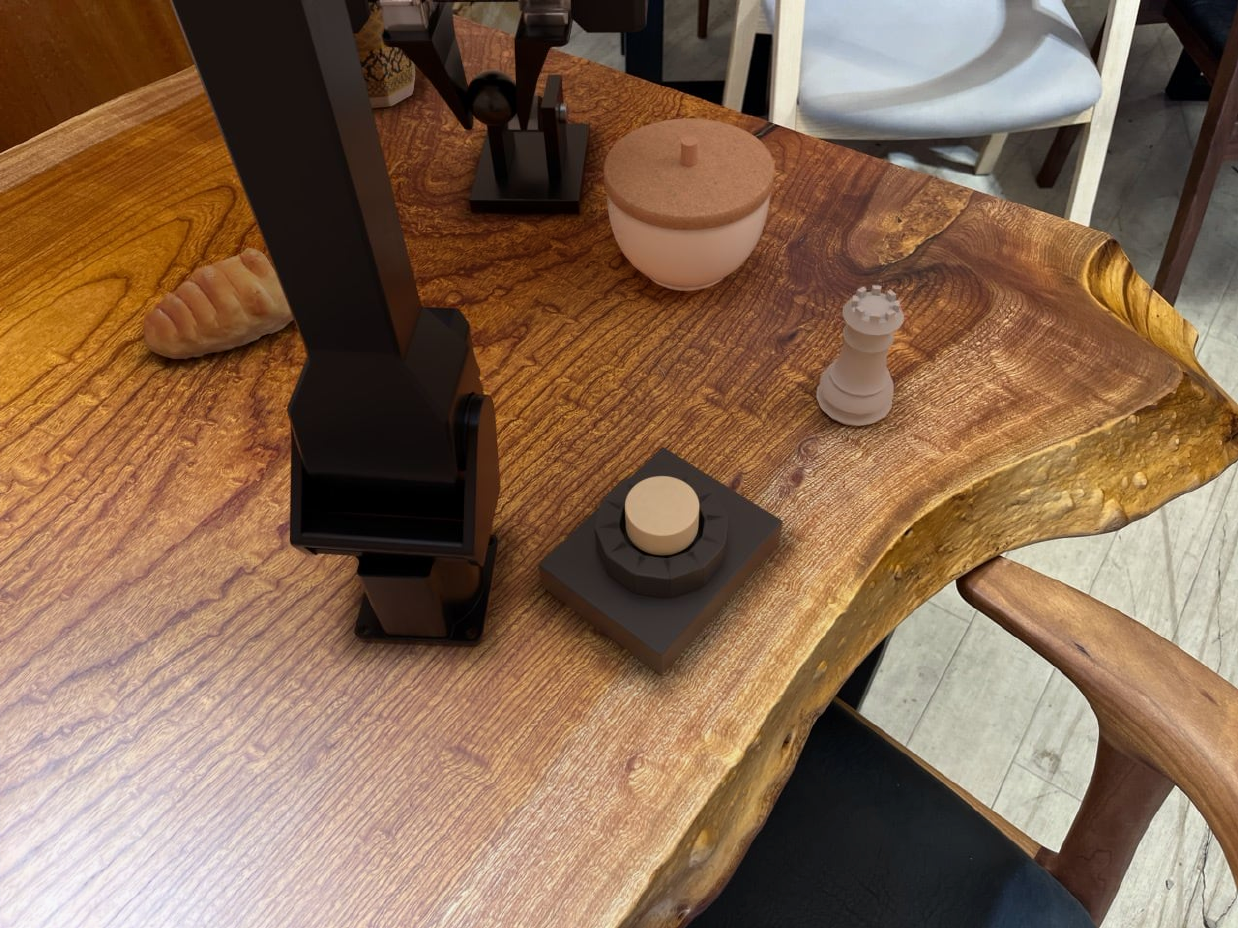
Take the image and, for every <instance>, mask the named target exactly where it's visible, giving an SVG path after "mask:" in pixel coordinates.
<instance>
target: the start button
mask: <svg viewBox="0 0 1238 928" xmlns="http://www.w3.org/2000/svg"><path fill="white" fill-rule="evenodd" d="M625 520H626V531H627V534H628V537H629V539H630V540H631V541H632V543H633V544H634V545H635V546H636V547H638V548H639V549H641V550H642V551H644V552H646V553H649V554H653V555H661V556H662V555H671V554H675V553H678V552H680V551H682V550H684V549H685V548H687V547H688V546H689V545H690V544H691V543H692V542H693V541H694V539H695V537H696V535H697V532H698V523H699V500H698V497H697V495H696V493H695V492H694V490H693V489H692V488H691V487H690V486H689V485H688V484H686V483H685V482H683V481H681V480H679V479H676V478H673V477H668V476H656V477H651V478H648V479H645V480H643V481H641V482H639V483H638V484H636V485H635V486H634V487H633V488H632V489H631V490H630V492H629V493H628V495H627V498H626V501H625Z"/></svg>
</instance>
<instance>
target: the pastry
mask: <svg viewBox="0 0 1238 928" xmlns="http://www.w3.org/2000/svg"><path fill="white" fill-rule="evenodd" d="M292 321H294V319H293V316H292V314H291V311H290V309H289V306H288V304H287V301H286V298H285V296H284V293H283V291H282V288H281V286H280V283H279V280H278V278H277V275H276V273H275V270H274V268H273V265H272V263H271V261H269V259H268V258H267V257H266V255H265V254H264V253H263V252H262V251H260V250H258V249H256V248H253V247H246V248H245V249H244V250H243V251H242V253H240V254H238V255H234V256H231V257H229V258H227V259H222V260H218V261H215V262H213V263H212V264H210V265H203V266H201V267H199V268H197V269H195V270H194V271H193V273H192V275H191V276H190V277H189V278H188V279H187V280H186V281H184V282H183V283H181V285H180V286H179V287H178V288H177V289H176V290H174V291H172V292H169V293H167V294H166V295H164V297H163V298H162V299H161V300H160V301H159V302H158V303H156V305H155V306H154V307H153V308H152V309H151V311H149V312H148V313H147V314H146V315H145V317H144V321H143V325H142V330H143V334H142V335H143V338H144V342H145V344H146V345H147V347H148V349H149V350H150V351H151V352H153V353H155V354H157V355H160V356H163V357H165V358H169V359H173V360H179V359H184V360H186V361H187V360H188V359H190V358H201V357H204V355H207V354H213V353H223V352H226V351H230V350H233V349H235V348H236V347H238V348H239V347H242V346H245V345H248V344H249V343H252V342H254V341H258V340H260V338H261V337H262V336H265V335H268V334H269V335H273V334H274V333H276V332H280V331H281V330H283V329H284V328H286V326H288V325H289V324H290V323H291V322H292Z"/></svg>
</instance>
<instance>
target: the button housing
mask: <svg viewBox="0 0 1238 928" xmlns="http://www.w3.org/2000/svg"><path fill="white" fill-rule="evenodd" d="M656 476H668V477H673V478H676V479H679V480H681V481H683V482H685V483H686V484H688V485H689V486H690V487H691V488H692V489H693V490H694V492H695V493H696V495H697V497H698V500H699V523H698V532H697V535H696V537H695V539H694V541H693V542H692V543H691V544H690V545H689V546H688V547H687V548H685V549H684V550H682V551H680V552H678V553H675V554H671V555H662V556H661V555H653V554H649V553H646V552H644V551H642V550H641V549H639V548H638V547H636V546H635V545H634V544H633V543H632V541H631V540H630V539H629V537H628V534H627V531H626V520H625V501H626V498H627V495H628V493H629V492H630V490H631V489H632V488H633V487H634V486H635V485H636V484H638V483H639V482H641V481H643V480H645V479H648V478H651V477H656ZM783 523H784V521H783V520H782V519H781V518H779V517H778V516H775V515H774V514H772V513H771V512H769V511H768V510H766V509H765V508H763V507H761V506H760V505H757V504H756V503H755V502H753V501H751V500H749V498H746V497H745V496H743V495H741V494H740V493H739V492H737V491H735V490H733V489H732V488H730V487H729V486H727V485H726V484H724V483H722V482H721V481H719V480H717V479H716V478H714V477H713V476H711V475H709V474H708V473H706V472H704V470H701V469H700V468H698V467H696V466H695V465H693V464H692V463H690V462H689V461H687V460H685V459H683V458H681V457H680V456H679V455H677V454H676V453H674V452H672V451H670V450H669V449H667V448H666V447H664V446H661V447H660V449H659V450H657V451H656V452H655V453H654V454H653V455H652V456H651V457H650V458H649V459H648V460H647V461H645V463H644V464H642V466H641V467H639V468H638V469H637V470H636V471H635V472H634V473H633V474H632V475H631V476H629V477H626V478H624V479H622V480H621V481H620V482H619V483H618V484H617V485H615V486H614V487H613V488H612V489H611V490H610V491H609V492H608V493H607V494H606V495H605V496H604V497H603V498H602V499H601V500H600V503H599V506H598V507H597V508H596V509H595V510H594V511H593V512H592V513H591V514H590V515H589V516H588V517H587V518H585V519H584V520H583V522H581V523H580V524H579V525H578V526H577V527H576V528H575V529H573V530H572V532H571V533H570V534H569V535H567V536H566V538H565V539H563V540H562V541H561V542H560V543H559V544H558V545H557V546H556V547H555V548H554V549H553V550H552V551H550V553H549V554H547V556H545V558H544V559H542V560H541V561H540V562H539V563H538V564H537V566H538V571H539V572H538V573H539V577H540V584H541V587H542V588H543V590H545V591H547V592H548V593H550V594H551V595H552V596H553V597H555V598H556V599H557V600H559V601H560V602H562V604H564V605H565V606H567V607H568V608H570V609H571V610H572V611H573V612H575V613H576V614H577V615H579V616H580V617H582V618H583V619H584V620H585V621H587V622H588V623H589V624H591V625H592V626H594V628H596V629H597V630H598V631H600V632H601V633H603V634H604V635H606V637H608V638H609V639H611V640H612V641H614V642H615V643H616V644H617V645H619V646H620V647H621V648H623V649H624V650H625V651H627V653H629V654H631V655H632V656H634V657H635V658H636V659H637V660H638V661H640V662H641V663H643V664H644V665H645V666H647V667H648V668H649V669H650V670H652V671H653V672H655V673H656V674H657V675H658V676H664V674H665V673H666V672H667V671H668V670H669V669H670V667H671V666H672V665H673V664H674V662H676V661H677V660H678V658H680V656H682V654H683V652H684V651H685V650H686V649H687V648H689V646H690V645H691V644H692V642H694V640H695V639H697V637H698V636H699V635H700V634H701V633H702V631H703V630H704V629H705V628H706V627H707V626H708V625H709V624H710V622H711V621H712V620H713V619H714V618H715V617H716V616H717V615H718V614H719V612H721V610H722V609H723V608H724V606H726V604H727V603H728V602H729V601H730V600H731V599H732V598H733V596H735V594H737V592H738V591H739V590H740V589H741V588H742V586H743V585H744V584H745V583H746V582H747V581H748V580H749V579H750V578H751V576H752V575H753V574H754V573H755V572H756V571H757V570H758V568H759V567H760V566H762V564H763V563H764V562H765V561H766V560H767V559H768V558H769V556H770V555H771V554H772V553H773V552H774V551H775V549H776V548H777V547H778V546H779V545H780V541H781V535H782V528H783Z"/></svg>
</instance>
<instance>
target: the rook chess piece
mask: <svg viewBox="0 0 1238 928" xmlns="http://www.w3.org/2000/svg"><path fill="white" fill-rule="evenodd" d="M882 287H883V286H882V285H877V284H876V285H875V284H872V286H871V291H867V288H866V287H865V286H862V287H859V288H858V289H856V292H855V295H854V294H852V297H851V298H850V299H848V301H846V303H845V304H844V305H843V307H842V317H843V319H844V321H845V323H846V324H845V326H844V327H843V329H842V337H843V339H844V340H843V341H844V342H843V345H842V348H841V349H840V352H839V355H838V357H836V358H835V359H834V360H833V362H832V363H830V364H829V365H828V366H827V367H826V369H825V370H823V372H822V374H821V376H820V378H819V384H818V386H817V388H816V400H817V402H818V405H819V407H820V409H821V410H822V411H823V412H824V413H825V414H826V415H827V416H828V417H829V418H831V419H832V420H833V421H835V422H837V423H840V424H842V425H844V426H853V427H863V426H867V425H868V426H869V425H872V424H875V423H877V422H879V421H881V420H882V419H884V418H886V417H887V415H888V414H889V412H890V410H891V409H892V408H893V407H892V406H893V398H894V393H895V392H894V390H895V386H894V381H893V379H892V377H891V374H890V370H889V369H888V367H887V357H888V350H889V348H891V346H892V345H893V344H894V342H895V332H896V331H897V330H899V329H900V327H901V326H902V325H903V323H904V318H905V316H904V315H905V314H904V312H903V310H902V308H901V300H897V295H898V294H897V293H896V292H895V291H893V289H888V291H886V294H885V293H882Z"/></svg>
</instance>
